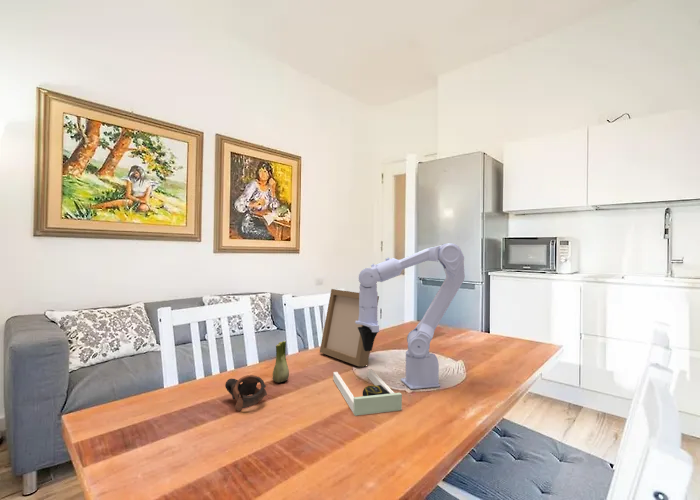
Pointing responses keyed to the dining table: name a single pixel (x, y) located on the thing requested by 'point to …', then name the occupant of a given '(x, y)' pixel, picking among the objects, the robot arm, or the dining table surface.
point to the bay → (370, 397)
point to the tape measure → (374, 390)
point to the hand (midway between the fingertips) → (367, 350)
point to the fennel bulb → (280, 364)
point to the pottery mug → (246, 391)
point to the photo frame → (344, 329)
